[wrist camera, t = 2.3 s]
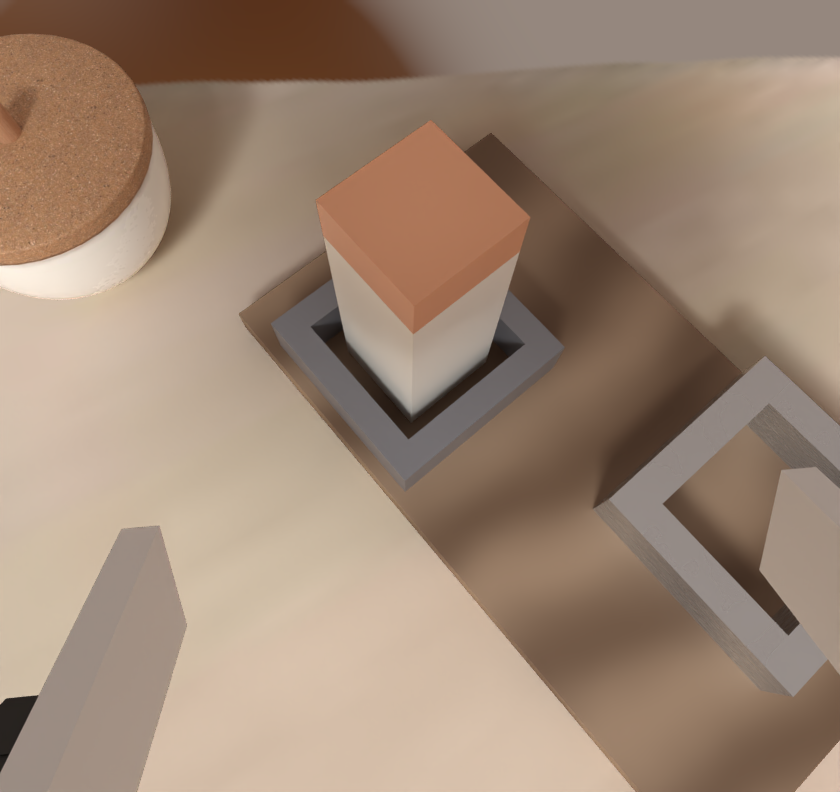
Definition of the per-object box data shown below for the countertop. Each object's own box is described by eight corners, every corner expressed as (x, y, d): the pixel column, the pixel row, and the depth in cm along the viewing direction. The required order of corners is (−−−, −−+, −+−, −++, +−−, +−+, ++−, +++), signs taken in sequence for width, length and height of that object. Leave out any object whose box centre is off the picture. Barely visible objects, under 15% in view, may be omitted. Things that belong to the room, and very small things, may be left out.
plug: (348, 351, 32) (315, 199, 20) (422, 294, 33) (430, 120, 21) (411, 422, 31) (413, 306, 19) (485, 362, 32) (530, 216, 20)
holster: (280, 345, 32) (270, 323, 29) (427, 237, 34) (428, 208, 31) (404, 491, 30) (404, 480, 27) (552, 367, 32) (564, 347, 29)
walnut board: (245, 326, 34) (238, 313, 32) (487, 151, 37) (491, 132, 36) (699, 867, 27) (716, 881, 25) (943, 592, 30) (970, 590, 29)
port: (592, 509, 30) (608, 499, 27) (738, 375, 32) (765, 355, 29) (759, 690, 28) (793, 696, 25) (904, 534, 30) (947, 527, 27)
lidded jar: (239, 200, 36) (184, 61, 27) (119, 371, 33) (12, 278, 24) (70, 119, 37) (-36, -38, 28) (-61, 276, 34) (-225, 155, 25)
